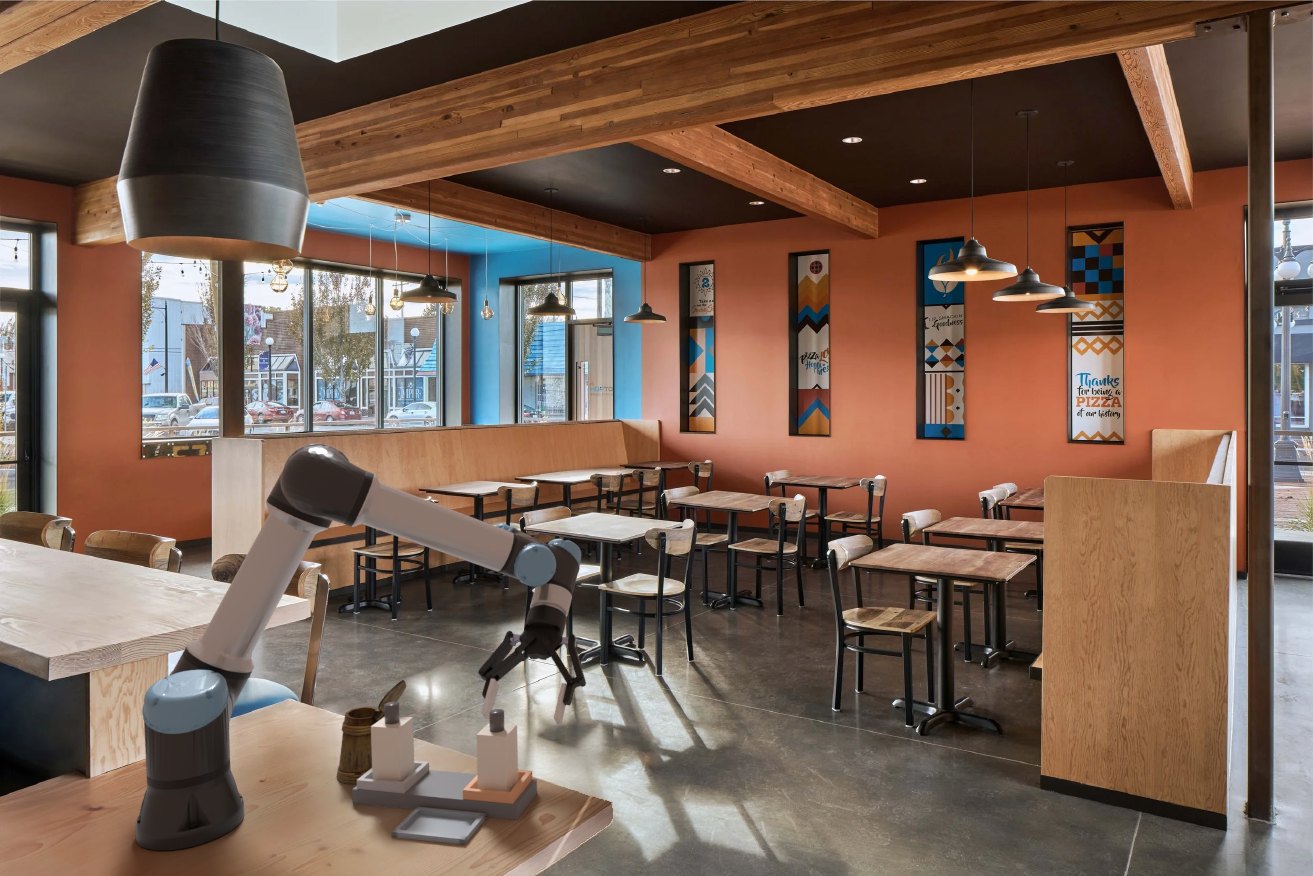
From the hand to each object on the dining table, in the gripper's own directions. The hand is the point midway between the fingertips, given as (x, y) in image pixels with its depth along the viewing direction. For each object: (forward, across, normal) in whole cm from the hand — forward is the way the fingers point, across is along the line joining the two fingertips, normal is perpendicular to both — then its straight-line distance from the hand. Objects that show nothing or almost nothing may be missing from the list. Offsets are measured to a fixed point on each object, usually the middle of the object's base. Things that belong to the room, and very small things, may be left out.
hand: (521, 719), depth 147 cm
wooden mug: (+10, +27, -5) cm, 29 cm away
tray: (+21, +6, +6) cm, 23 cm away
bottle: (+13, 0, +2) cm, 13 cm away
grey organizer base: (+15, +10, 0) cm, 18 cm away
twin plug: (+13, +19, +2) cm, 23 cm away
